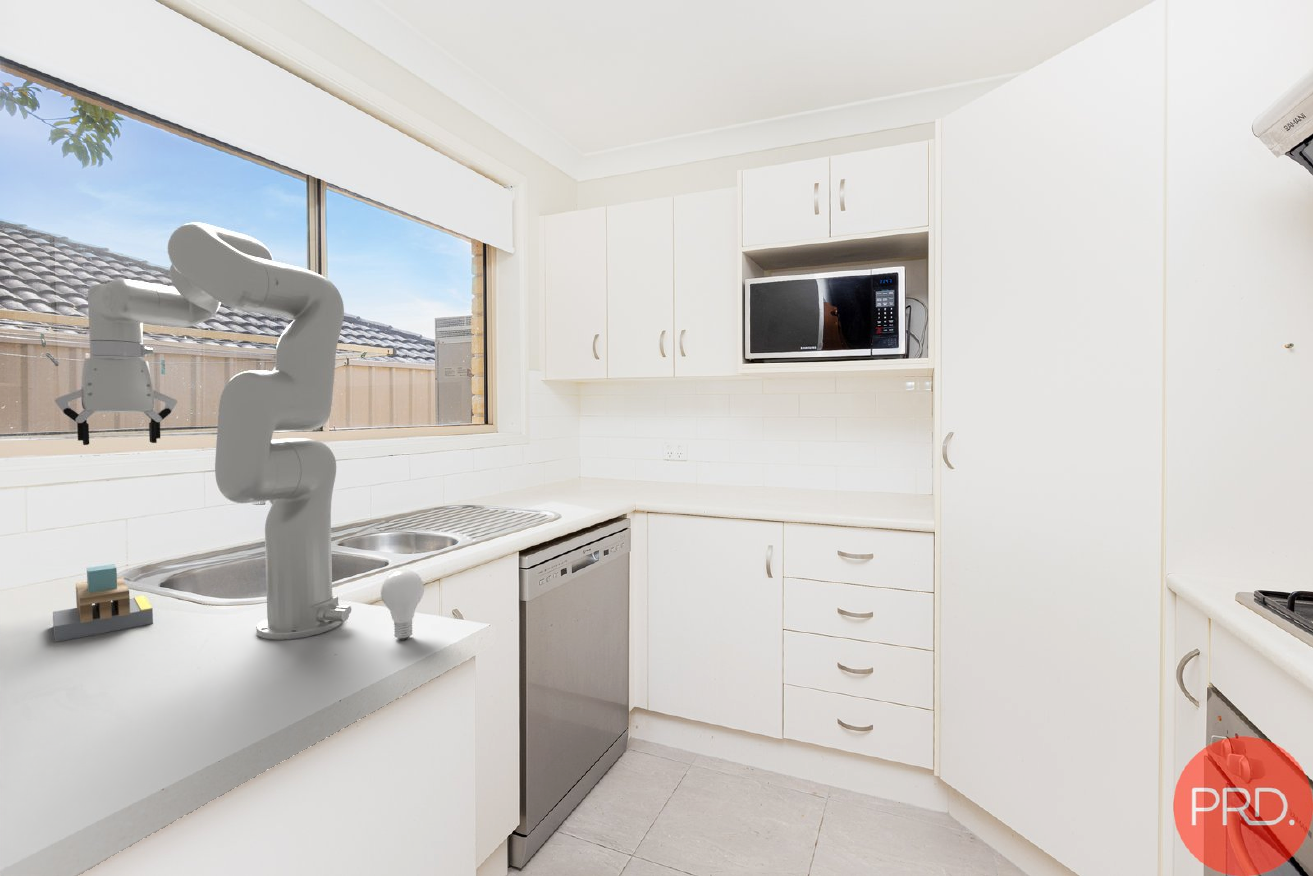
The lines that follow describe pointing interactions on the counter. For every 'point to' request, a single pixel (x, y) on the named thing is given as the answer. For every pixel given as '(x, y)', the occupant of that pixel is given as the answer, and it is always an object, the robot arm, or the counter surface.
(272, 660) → the counter surface
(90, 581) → the block
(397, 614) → the lightbulb
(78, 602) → the pallet
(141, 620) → the dock
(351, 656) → the counter surface
